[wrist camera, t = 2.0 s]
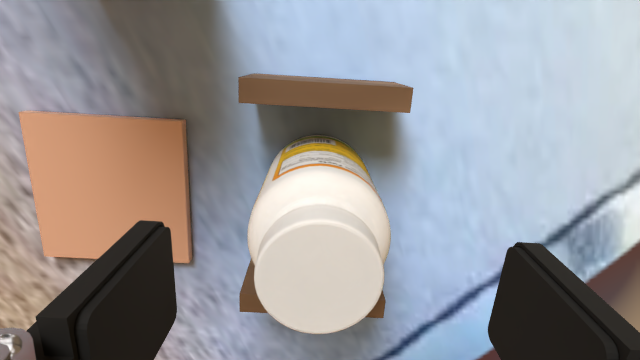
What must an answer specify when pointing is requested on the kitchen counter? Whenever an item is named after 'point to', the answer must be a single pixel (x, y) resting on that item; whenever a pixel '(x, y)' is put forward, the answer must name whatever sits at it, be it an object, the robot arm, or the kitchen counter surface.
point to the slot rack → (321, 96)
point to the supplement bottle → (318, 237)
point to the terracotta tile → (106, 179)
